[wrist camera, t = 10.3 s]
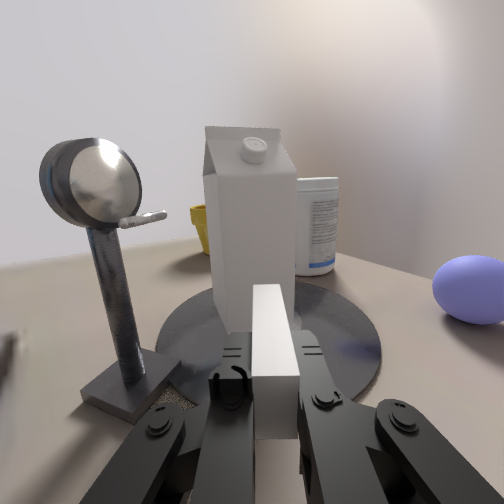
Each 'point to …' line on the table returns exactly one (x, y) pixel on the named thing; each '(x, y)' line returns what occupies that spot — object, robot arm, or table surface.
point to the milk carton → (249, 219)
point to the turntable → (305, 318)
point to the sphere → (471, 289)
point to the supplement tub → (316, 225)
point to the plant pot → (201, 225)
